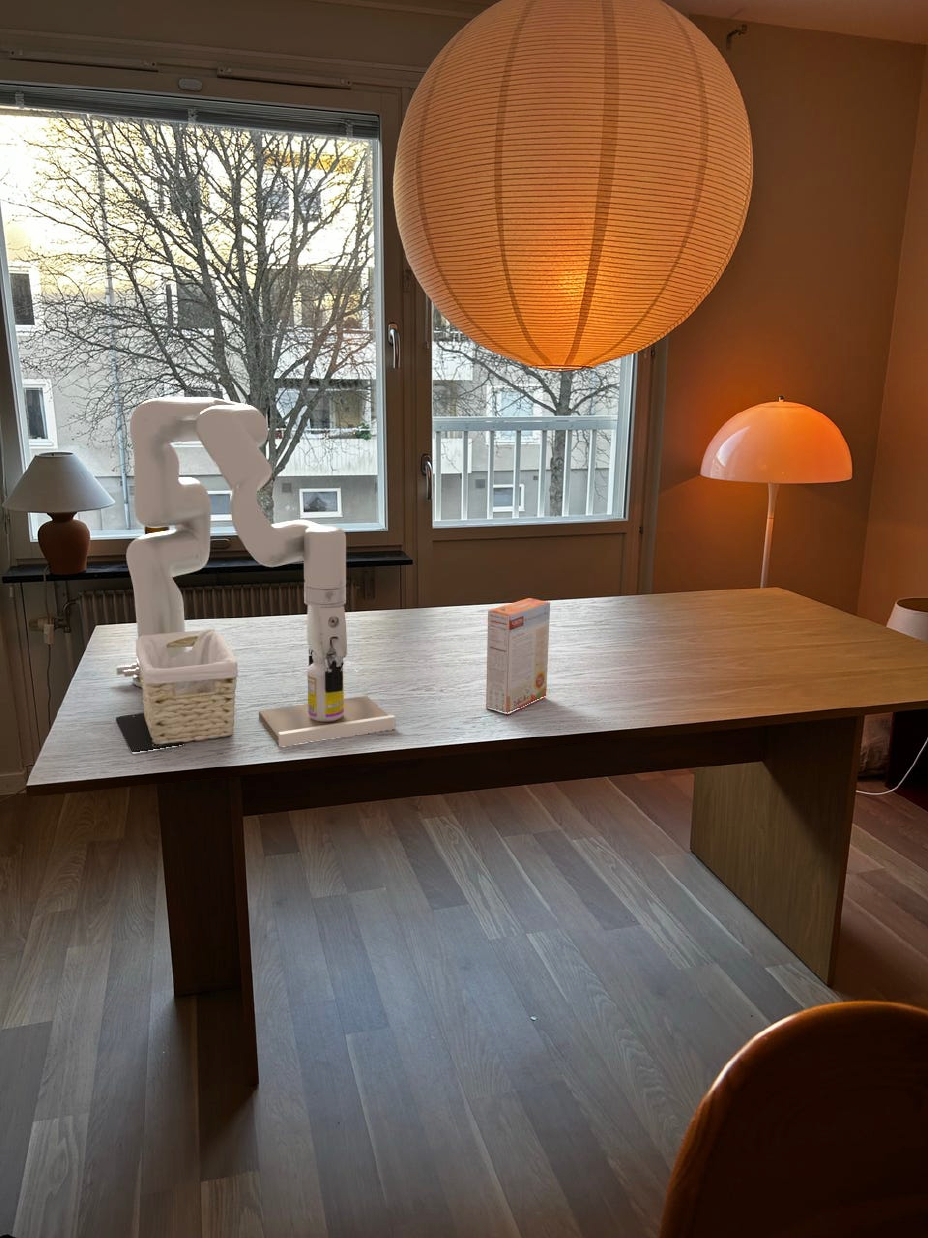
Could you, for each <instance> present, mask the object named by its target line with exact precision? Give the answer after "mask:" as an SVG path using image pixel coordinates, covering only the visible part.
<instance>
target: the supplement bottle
mask: <svg viewBox="0 0 928 1238" xmlns="http://www.w3.org/2000/svg"><path fill="white" fill-rule="evenodd" d="M333 654H334V653H333ZM333 654H327V655H333ZM312 659H313V661H314V663H313V664H311V665H310V666H309V665H308V668H307V704H308V713H309V717H310V718H311V719H313V720H315V721H321V722H330V721H335V720H338V719H340V718H341V717H342V716H343V714H344V699H345V697H344V695H345V694H344V690H345V689H343V690H342V691H338V692H330V693H327V692H326V691H325V671H327V668H326V664H325V659H322V658H321V657H319V656H318V655H317V654H316V653H315V652H314V651H313V652H312ZM334 660H335V659H334ZM334 660H330V664H331V663H332V661H334Z"/></svg>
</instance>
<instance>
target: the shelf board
mask: <svg viewBox="0 0 928 1238" xmlns="http://www.w3.org/2000/svg"><path fill="white" fill-rule="evenodd" d="M388 715H389V714H388V713H386V712H385V711H384V710H383V709H382V708H381V707H380V706H378V705H377V704H376V702H375V701H373V700H372V699H371V698H370V697H369V695H362V696H355V697H349V698H344V714H343V716H342V717H341V718H340V719H338V720H335V721H330V722H321V721H315V720H313V719H311V718H310V717H309V713H308V703H307V704H297V705H293V706H292V705H291V706H284V707H277V708H271V709H263V710H258V719H259V720H260V722H261V723H262V724H263V726H264V727H265V728H266V730H267V732H269V734H270V735H271V736H272V738H273V740H274V741H275V740H276V741H277V742H276V741H275V742H276V744H277V743H278V744H279V737H278V732H284V731H290V730H297V729H303V728H310V727H316V726H323V725H329V724H336V723H342V722H349V721H356V720H362V719H369V718H375V717H382V716H388ZM278 744H277V745H278Z"/></svg>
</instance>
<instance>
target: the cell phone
mask: <svg viewBox="0 0 928 1238" xmlns="http://www.w3.org/2000/svg"><path fill="white" fill-rule="evenodd" d="M115 721H116V723H117V725H118V727H119V730H120V732H121V731H122V732H121V733H123V734H122V736H123V738H124V737H125V738H124V740H125V739H126V740H125V742H126V741H127V742H126V744H127V743H128V744H127V746H128V745H129V746H128V748H129V747H130V749H131V751H132V752H140V751H148V750H153V749H160V748H166V747H172V746H179V745H183V744H184V745H185V742H175V743H166V744H155V743H153V742H152V741H153V739H152V737H151V735H150V732H149V730H148V726H147V723H146V720H145V717H144V712H139V713H132V714H126V715H120V716H116V717H115ZM130 749H129V750H130ZM131 751H130V752H131Z"/></svg>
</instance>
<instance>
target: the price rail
mask: <svg viewBox="0 0 928 1238" xmlns="http://www.w3.org/2000/svg"><path fill="white" fill-rule="evenodd" d="M387 715H388V716H382V717H375V718H369V719H362V720H356V721H349V722H342V723H336V724H329V725H323V726H316V727H310V728H303V729H297V730H290V731H284V732H278V737H279V745H280V746H279V745H278V746H279V748H280V747H282V748H284V747H283V746H289V745H294V744H299V743H305V742H310V741H316V740H322V739H330V738H337V737H345V738H350V737H349V736H351V737H356V736H355V735H357V736H362V735H369V734H368V733H370V734H375V732H376V733H380V731H382V732H386V731H385V730H388V731H393V730H392V729H394V730H396V716H395V715H394V714H387ZM289 747H290V746H289Z"/></svg>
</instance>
